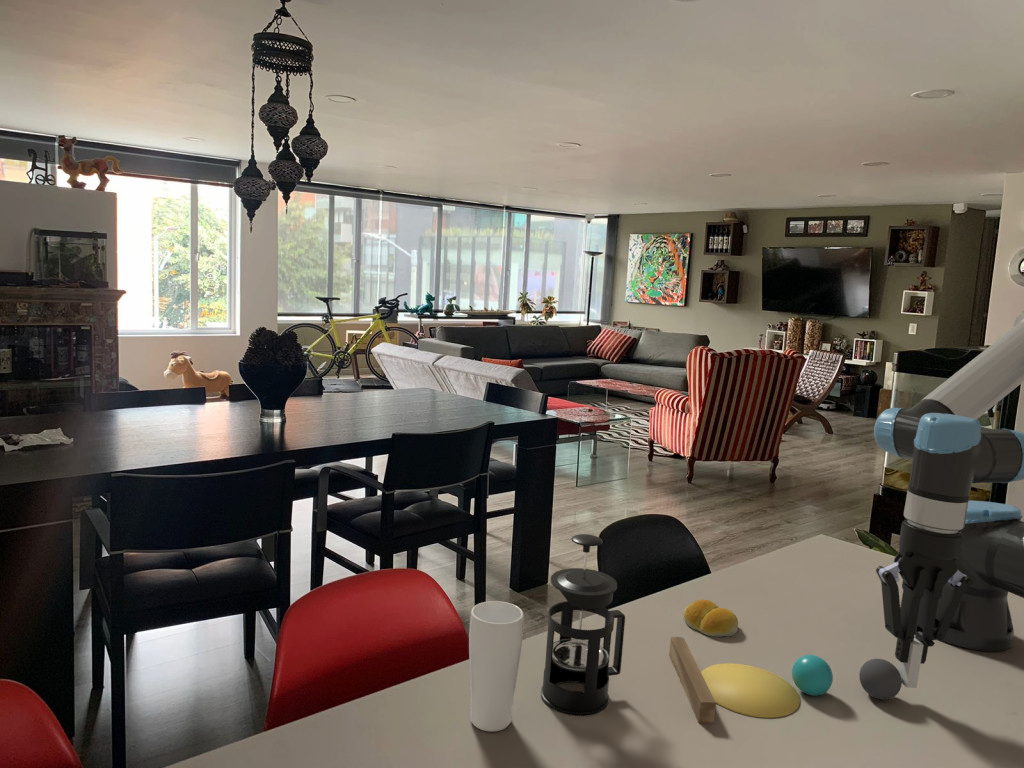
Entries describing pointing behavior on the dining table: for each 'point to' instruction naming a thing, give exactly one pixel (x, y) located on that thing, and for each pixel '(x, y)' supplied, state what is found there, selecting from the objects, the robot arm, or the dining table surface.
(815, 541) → the dining table surface
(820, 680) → the ball
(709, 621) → the bread roll
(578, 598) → the french press
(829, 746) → the dining table surface
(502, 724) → the drinking glass
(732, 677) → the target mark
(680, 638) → the wall
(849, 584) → the dining table surface
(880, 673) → the ball
